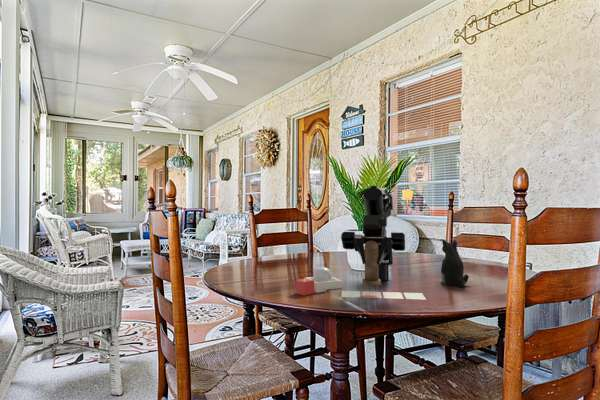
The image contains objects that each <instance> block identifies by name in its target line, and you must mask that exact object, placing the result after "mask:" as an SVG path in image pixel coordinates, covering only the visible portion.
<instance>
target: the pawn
mask: <svg viewBox="0 0 600 400" xmlns="http://www.w3.org/2000/svg"><path fill="white" fill-rule="evenodd" d="M364 254H365V263H364V277H363V278H362V285H363V286H370V287H378V286H381V283H382V282H381V280H380V279H379V265H378V244H377V243H376V242H375V241H368V242H366V244H364Z"/></svg>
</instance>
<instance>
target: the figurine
mask: <svg viewBox="0 0 600 400" xmlns="http://www.w3.org/2000/svg"><path fill="white" fill-rule="evenodd" d="M441 241H442V247H441V250H442V252H443V253H444V255H445V256H444V258H443V259H442V261H441V267H440V280H439V282H438V283H440V284H444V285H450V286H452V287H456V288H463V287H464V286H465V285H466V283H468V281H469V278H470V276H469V274H464V268H465V267H464V262H463V260H462V258H461V256H460V254H459V252H458V248H457V246H458V242H457V240H456V239H453V240H452V241H451V242H448V241H446V239H442V240H441Z"/></svg>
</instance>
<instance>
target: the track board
mask: <svg viewBox="0 0 600 400" xmlns="http://www.w3.org/2000/svg"><path fill="white" fill-rule="evenodd" d="M361 294H362V295H361ZM361 296H362V299H388V300H389V299H392V300H396V299H397V300H404V299H405V300H419V301H420V300H421V301H422V300H423V301H424V300H425V301H427V299H426V297H425V295H424V294H423V293H422V292H403V293H402V292H398V291H397V292H393V291H392V292H391V291H382V292H381V291H366V290H365V291H362V293H361V291H360V290H358V291H357V290H341V295H340V296H339V301H348V300H347V299H345V298H354V299H355V298H359V299H360V298H361Z"/></svg>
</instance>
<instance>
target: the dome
mask: <svg viewBox="0 0 600 400" xmlns="http://www.w3.org/2000/svg"><path fill="white" fill-rule="evenodd" d="M313 277H314V281H316V282H324V281H333V277H334V276H333V274H332V272H331V270H330V269H329V268H328V267H323V266H322V267H319V268H317V269H316V270H315V272H314V276H313Z"/></svg>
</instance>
